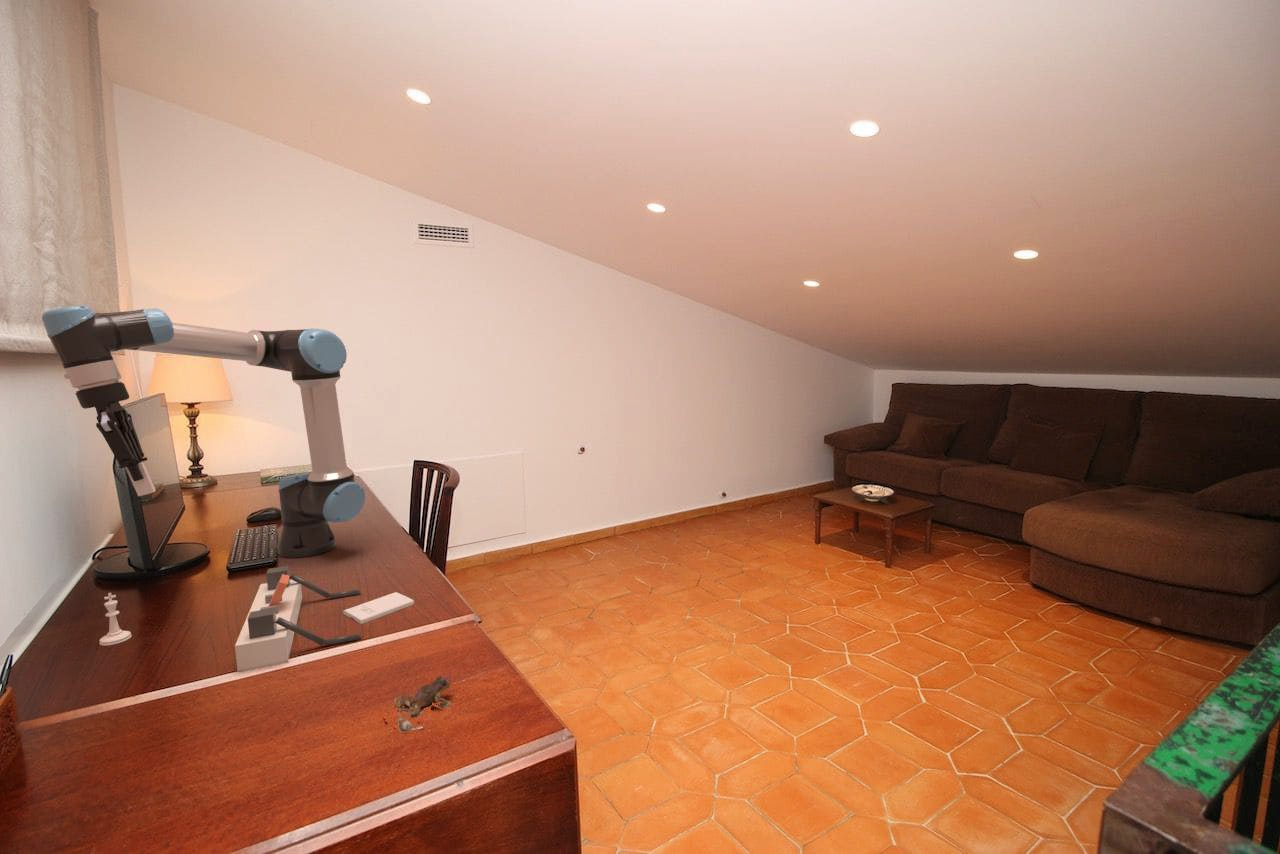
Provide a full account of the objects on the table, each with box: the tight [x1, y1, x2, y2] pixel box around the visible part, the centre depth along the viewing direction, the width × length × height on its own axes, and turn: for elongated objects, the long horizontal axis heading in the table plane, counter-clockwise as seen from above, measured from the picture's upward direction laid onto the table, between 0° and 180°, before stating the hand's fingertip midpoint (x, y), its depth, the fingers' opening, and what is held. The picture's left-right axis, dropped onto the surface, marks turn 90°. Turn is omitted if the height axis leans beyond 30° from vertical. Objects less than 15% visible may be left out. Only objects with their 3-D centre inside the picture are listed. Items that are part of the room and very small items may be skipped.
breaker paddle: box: [269, 574, 290, 606], centre depth 122 cm, size 2×5×6 cm, turn 27°
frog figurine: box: [393, 676, 452, 732], centre depth 95 cm, size 12×12×4 cm
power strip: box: [234, 565, 362, 672], centre depth 125 cm, size 21×32×9 cm, turn 26°
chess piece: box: [99, 592, 132, 646], centre depth 118 cm, size 5×5×10 cm
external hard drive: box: [342, 591, 415, 625], centre depth 132 cm, size 2×8×12 cm
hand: (147, 493), depth 122 cm, fingers closed
